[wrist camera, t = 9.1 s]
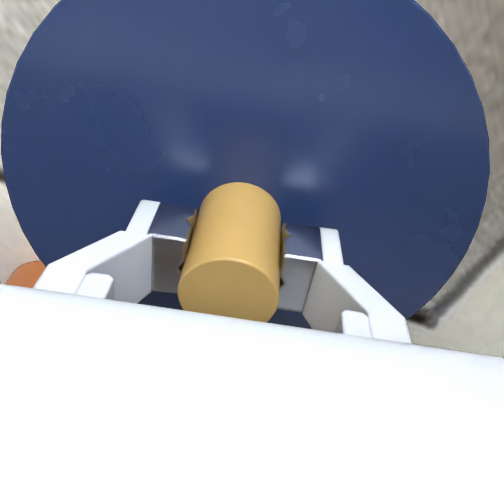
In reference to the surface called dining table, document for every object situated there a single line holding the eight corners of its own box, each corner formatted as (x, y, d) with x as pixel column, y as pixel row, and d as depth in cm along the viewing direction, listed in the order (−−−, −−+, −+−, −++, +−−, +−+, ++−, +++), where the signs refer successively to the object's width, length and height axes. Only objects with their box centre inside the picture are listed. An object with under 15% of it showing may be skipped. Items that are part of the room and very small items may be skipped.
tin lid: (50, 317, 18) (-10, 422, 15) (-28, -123, 10) (-215, -137, 6) (386, 365, 19) (411, 479, 15) (579, -14, 11) (737, 32, 7)
